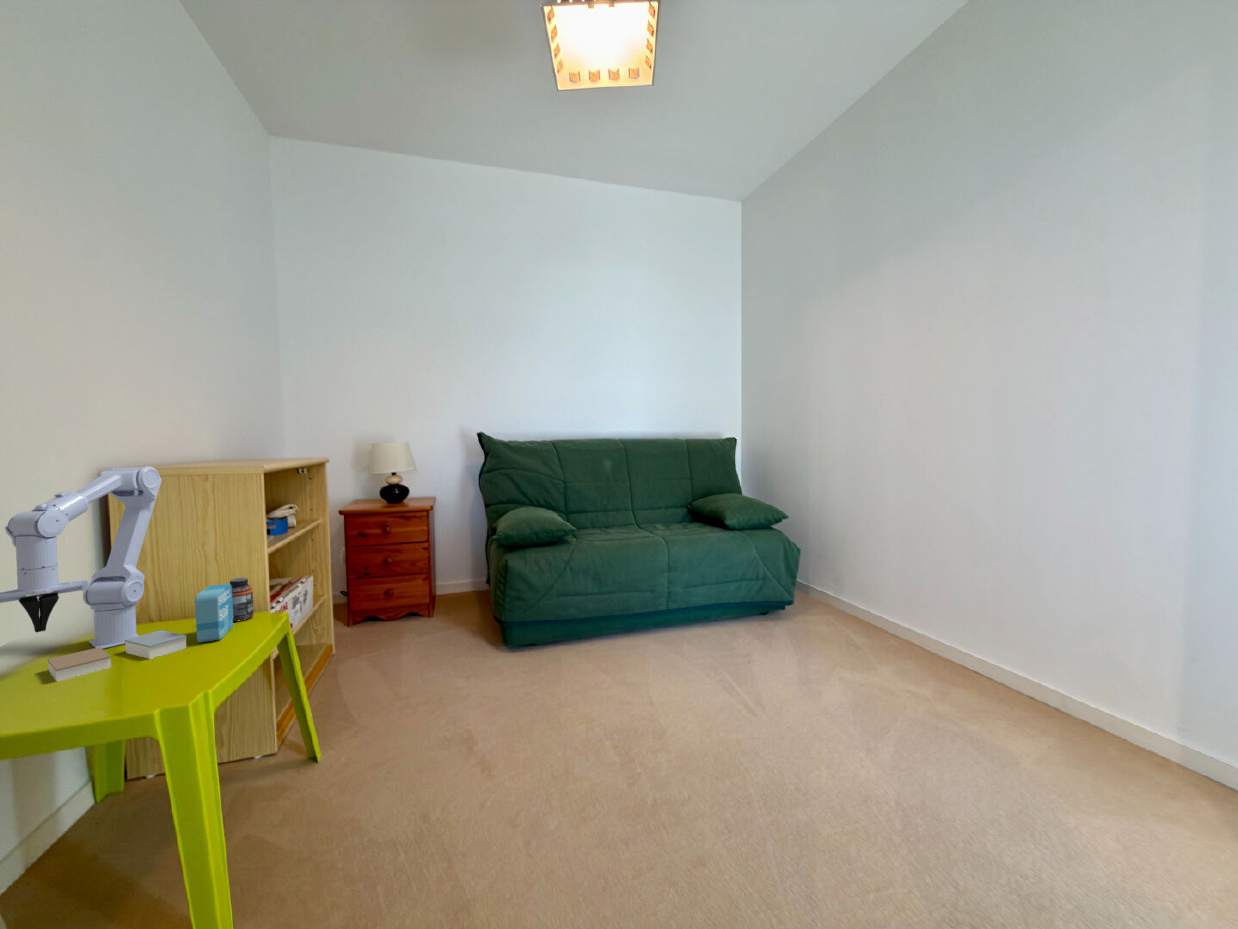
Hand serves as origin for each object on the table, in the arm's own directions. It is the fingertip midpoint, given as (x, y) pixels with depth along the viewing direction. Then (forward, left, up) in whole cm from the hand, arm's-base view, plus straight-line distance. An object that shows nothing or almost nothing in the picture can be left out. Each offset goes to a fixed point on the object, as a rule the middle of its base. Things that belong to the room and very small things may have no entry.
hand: (40, 630), depth 108 cm
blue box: (+5, +29, -9) cm, 31 cm away
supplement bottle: (-5, +37, -9) cm, 39 cm away
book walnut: (+5, +5, -10) cm, 12 cm away
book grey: (+5, +17, -10) cm, 20 cm away
